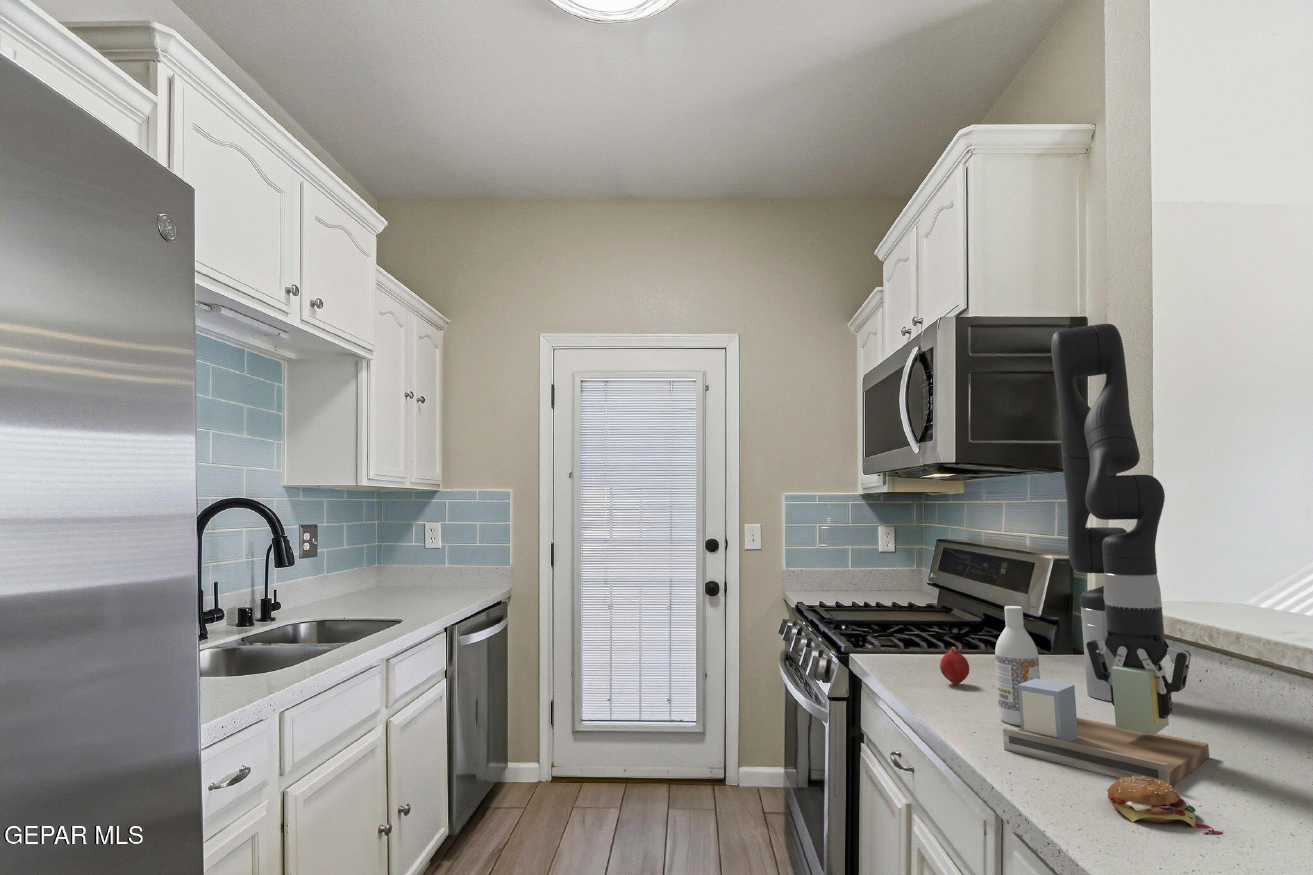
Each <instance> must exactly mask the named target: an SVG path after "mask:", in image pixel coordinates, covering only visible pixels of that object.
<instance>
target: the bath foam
mask: <svg viewBox="0 0 1313 875" xmlns="http://www.w3.org/2000/svg"><path fill="white" fill-rule="evenodd" d="M1003 609H1004V621H1005V627H1004V629H1003V631H1002V632H1001V633H1000V636H999V637H998V639H997V641H996V644H995V649H994V650H995V651H994V656H995V672H996V685H997V703H998V714H999V715H998V716H999V719H1000V720H1001V721H1002V722H1004V723H1006V724H1010V725H1013V726H1019V727H1021V723H1020V708H1019V693H1018V685H1019V684H1021V683H1024V682H1027V681H1030V680H1032V679H1041V675H1040V674H1041V673H1040V661H1039V660H1040V659H1039V658H1040V657H1039V653H1038V649H1037V646H1036V643H1035V642H1034V640H1033V638H1032V637H1031V635H1030V634H1029V633H1028V631H1027V630H1026V629H1025V627H1024V612H1023V607H1022V606H1019V605H1018V606H1017V605H1005V606H1004V608H1003Z"/></svg>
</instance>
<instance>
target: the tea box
mask: <svg viewBox="0 0 1313 875" xmlns="http://www.w3.org/2000/svg"><path fill="white" fill-rule="evenodd" d="M1162 666H1163V668H1164V669H1165V665H1163V664H1162ZM1156 670H1157V671H1158V670H1159V668H1158V666H1157V668H1156ZM1111 672H1112V684H1113V697H1114V706H1113V708H1114V720H1115V725H1116V728H1121V729H1125V730H1130V731H1135V732H1140V733H1145V734H1150V735H1155V734H1156V733H1158V734H1159V732H1160V731H1161V730H1163V729H1165V728H1167V727H1168V726H1169V725H1170V723H1169V716H1168V717H1167V718H1166V719H1162V718H1159V713H1158V701H1157V693H1159V692H1158V691H1157V688H1156V680H1155V678H1154V677H1153V672H1152V671H1147V670H1146V669H1140V668H1133V667H1126V666H1123V667H1119V666H1114V667H1112V668H1111Z"/></svg>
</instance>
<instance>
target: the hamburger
mask: <svg viewBox="0 0 1313 875" xmlns="http://www.w3.org/2000/svg"><path fill="white" fill-rule="evenodd" d="M1106 791H1107V798H1108V801H1110V804H1111V805H1112V806H1113V807H1114V809H1115V810H1116V811H1117V812H1119V813H1121V814H1123V815H1124V816H1125V817H1126V818H1127V819H1128V820H1129V821H1131V823H1133V822H1135V821H1137V820H1138V821H1144V822H1147V823H1148V822H1149V823H1159V824H1161V823H1162V824H1165V823H1173V822H1175V821H1177V820H1182V821H1184V822H1187V823H1188V824H1189V825H1191V827H1194V828H1196V829H1202V830H1203V831H1204V832H1203V835H1205V836H1206V835H1207V836H1208V835H1210V836H1211V835H1217V836H1219V835H1222V834H1223V831H1222V830H1215V829H1214V828H1213V827H1211V826H1210V825H1208V824H1205V823H1197V822H1196V820H1197V819H1196V816H1195V812H1197V811H1196V808H1195V807H1194V806H1192V805H1190V803H1189V802H1188V801H1187V800H1186V799H1184V797H1182V795H1181V794H1180V793H1179V792H1178V791H1177V790H1175V788H1174V786H1171V785H1170V784H1168V783H1166V782H1164V781H1159V780H1156V779H1153V778H1145V777H1143V776H1141V777H1134V776H1133V777H1125V778H1118V779H1117V780H1116V781H1115V782H1114V783H1111V784H1110V785H1109V787H1108V788H1107V789H1106Z"/></svg>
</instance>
